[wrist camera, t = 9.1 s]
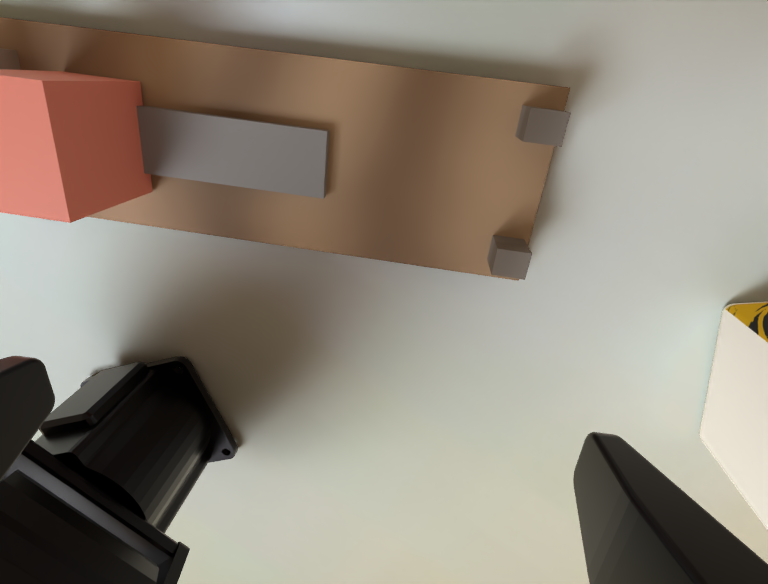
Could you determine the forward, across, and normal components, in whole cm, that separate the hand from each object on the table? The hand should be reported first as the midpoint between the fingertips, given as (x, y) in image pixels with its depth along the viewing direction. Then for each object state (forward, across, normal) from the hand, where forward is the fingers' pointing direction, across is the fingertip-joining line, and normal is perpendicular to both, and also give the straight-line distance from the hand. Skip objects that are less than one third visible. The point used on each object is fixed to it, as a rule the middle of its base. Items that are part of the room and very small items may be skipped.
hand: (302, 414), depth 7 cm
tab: (+11, +7, -2) cm, 13 cm away
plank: (+12, +5, -2) cm, 13 cm away
